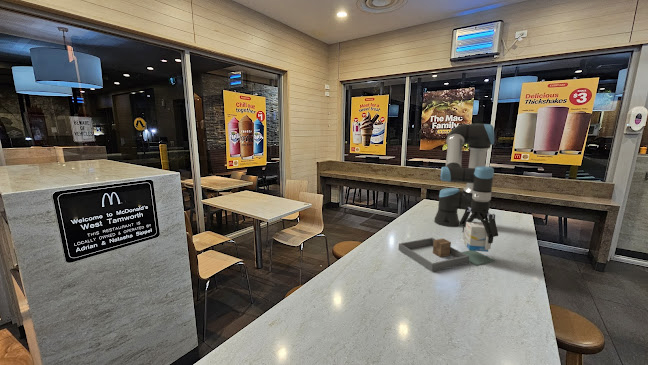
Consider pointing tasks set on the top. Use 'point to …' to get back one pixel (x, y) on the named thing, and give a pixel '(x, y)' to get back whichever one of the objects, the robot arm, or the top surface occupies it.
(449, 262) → the bin
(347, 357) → the top surface
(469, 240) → the ink box
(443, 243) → the walnut block
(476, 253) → the pad
